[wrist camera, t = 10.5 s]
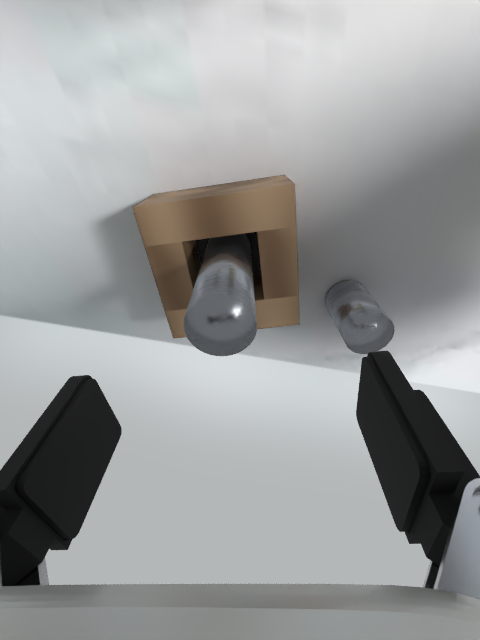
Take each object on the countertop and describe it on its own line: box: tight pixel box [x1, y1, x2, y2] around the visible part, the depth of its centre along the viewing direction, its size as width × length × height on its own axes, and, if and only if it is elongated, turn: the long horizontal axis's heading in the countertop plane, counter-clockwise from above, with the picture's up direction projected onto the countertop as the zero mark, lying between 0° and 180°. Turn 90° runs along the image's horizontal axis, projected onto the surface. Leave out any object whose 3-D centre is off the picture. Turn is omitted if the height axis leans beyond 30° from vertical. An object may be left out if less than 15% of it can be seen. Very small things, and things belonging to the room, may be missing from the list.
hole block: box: [133, 175, 300, 338], centre depth 23 cm, size 10×10×5 cm
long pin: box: [184, 233, 257, 356], centre depth 20 cm, size 4×4×12 cm
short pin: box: [325, 280, 394, 354], centre depth 25 cm, size 4×4×6 cm
